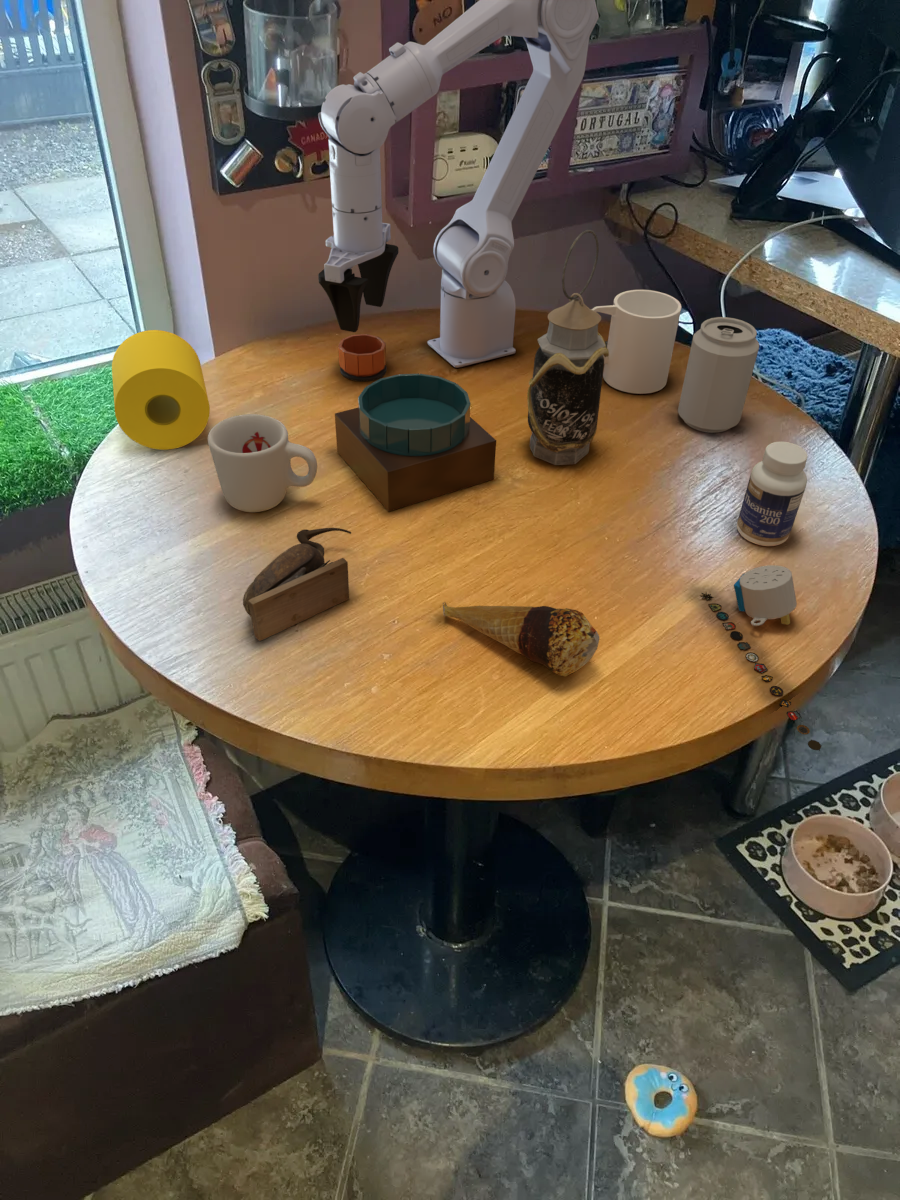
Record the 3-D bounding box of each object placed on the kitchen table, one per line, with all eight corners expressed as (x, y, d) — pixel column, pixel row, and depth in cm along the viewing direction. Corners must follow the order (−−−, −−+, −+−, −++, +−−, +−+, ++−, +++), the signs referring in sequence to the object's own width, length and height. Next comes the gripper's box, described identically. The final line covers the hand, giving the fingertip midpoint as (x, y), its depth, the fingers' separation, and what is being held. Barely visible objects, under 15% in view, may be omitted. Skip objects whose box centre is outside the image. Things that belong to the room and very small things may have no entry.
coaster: (374, 355, 125) (373, 352, 124) (394, 375, 121) (394, 372, 121) (332, 365, 122) (332, 362, 122) (352, 385, 118) (352, 382, 118)
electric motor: (730, 638, 87) (782, 644, 84) (721, 593, 85) (774, 598, 82) (761, 600, 92) (812, 605, 88) (753, 557, 90) (805, 560, 86)
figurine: (386, 581, 90) (336, 537, 95) (386, 544, 87) (334, 500, 92) (258, 642, 83) (211, 590, 88) (252, 604, 80) (204, 553, 85)
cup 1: (327, 482, 102) (322, 418, 97) (311, 526, 96) (305, 460, 91) (229, 474, 103) (220, 410, 98) (208, 517, 97) (196, 451, 92)
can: (744, 413, 116) (768, 321, 108) (731, 442, 111) (756, 347, 103) (684, 399, 118) (704, 308, 110) (669, 427, 113) (688, 333, 105)
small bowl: (372, 353, 124) (372, 330, 122) (393, 372, 120) (393, 349, 118) (332, 362, 122) (331, 339, 120) (352, 382, 118) (351, 359, 116)
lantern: (568, 478, 104) (597, 254, 88) (507, 453, 108) (524, 233, 91) (607, 445, 109) (641, 228, 93) (548, 422, 113) (571, 209, 96)
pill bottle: (725, 531, 97) (747, 451, 91) (752, 510, 100) (775, 431, 94) (772, 555, 95) (798, 474, 88) (798, 532, 98) (825, 452, 91)
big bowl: (435, 390, 108) (435, 364, 106) (488, 439, 100) (490, 412, 98) (341, 414, 103) (340, 388, 101) (390, 467, 96) (389, 440, 94)
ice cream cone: (418, 626, 83) (574, 673, 76) (441, 566, 84) (597, 607, 77) (445, 646, 88) (593, 691, 81) (467, 589, 89) (614, 629, 82)
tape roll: (94, 415, 101) (93, 374, 108) (170, 465, 108) (164, 423, 114) (154, 350, 99) (149, 312, 105) (228, 405, 105) (218, 366, 112)
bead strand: (710, 592, 90) (697, 594, 90) (710, 591, 90) (698, 593, 90) (825, 750, 76) (811, 753, 75) (826, 749, 76) (811, 752, 75)
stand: (436, 424, 112) (437, 386, 109) (494, 479, 104) (496, 440, 100) (336, 451, 107) (334, 413, 104) (388, 511, 99) (387, 471, 95)
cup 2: (566, 367, 123) (575, 293, 116) (652, 360, 125) (666, 287, 118) (586, 398, 117) (597, 322, 110) (676, 390, 119) (692, 315, 113)
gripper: (351, 181, 114) (356, 289, 123) (296, 220, 104) (306, 335, 113) (405, 188, 112) (406, 298, 121) (354, 230, 102) (360, 346, 111)
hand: (361, 317), depth 117 cm, fingers open, 7 cm apart
